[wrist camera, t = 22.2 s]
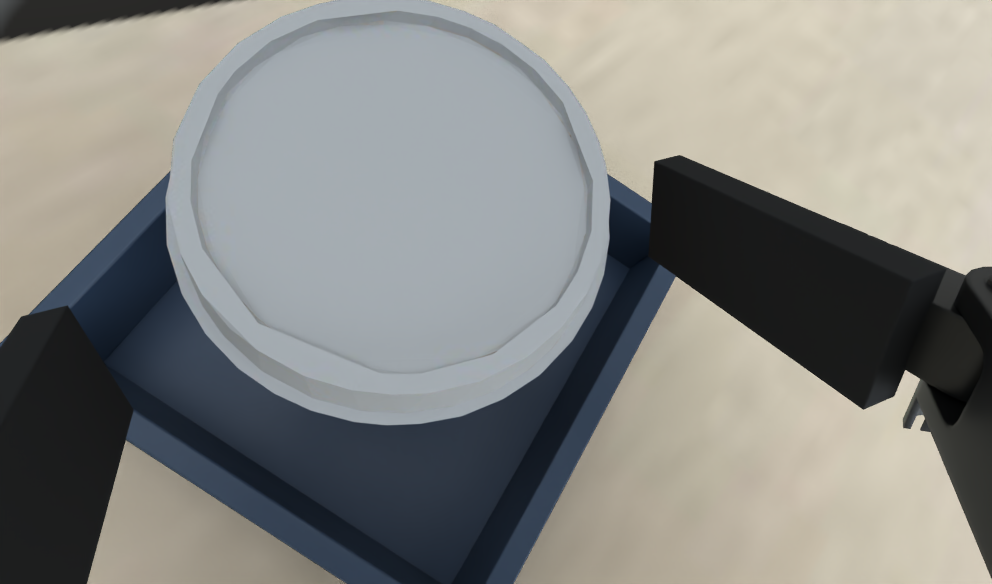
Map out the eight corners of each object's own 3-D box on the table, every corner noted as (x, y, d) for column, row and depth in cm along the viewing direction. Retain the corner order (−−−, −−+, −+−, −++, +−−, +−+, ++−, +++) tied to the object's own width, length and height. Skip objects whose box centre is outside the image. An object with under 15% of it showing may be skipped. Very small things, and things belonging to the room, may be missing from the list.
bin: (80, 371, 20) (-11, 352, 15) (350, 75, 25) (342, -5, 21) (452, 614, 20) (470, 665, 16) (643, 270, 26) (698, 234, 21)
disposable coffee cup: (223, 287, 21) (29, 106, 10) (420, 165, 24) (450, -83, 13) (369, 486, 20) (344, 546, 9) (555, 335, 23) (718, 232, 12)
